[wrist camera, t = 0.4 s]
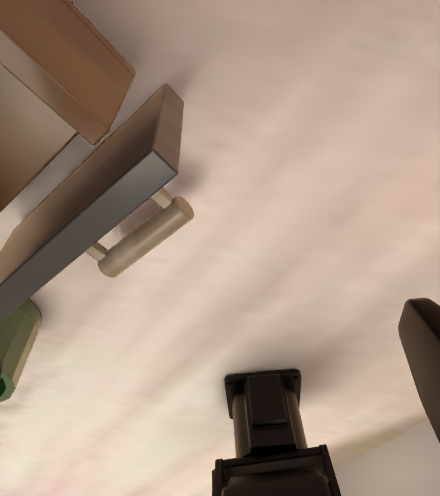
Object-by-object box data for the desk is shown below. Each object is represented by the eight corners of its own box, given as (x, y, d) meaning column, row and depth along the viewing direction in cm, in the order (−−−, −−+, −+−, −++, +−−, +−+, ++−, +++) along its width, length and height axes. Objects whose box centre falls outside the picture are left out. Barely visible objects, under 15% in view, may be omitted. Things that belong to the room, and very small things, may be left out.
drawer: (238, 162, 20) (255, 247, 15) (89, 279, 25) (57, 379, 19) (-90, -203, 12) (-335, -325, 7) (-224, 70, 17) (-438, 137, 11)
